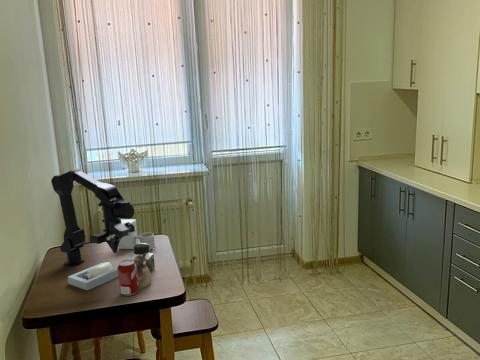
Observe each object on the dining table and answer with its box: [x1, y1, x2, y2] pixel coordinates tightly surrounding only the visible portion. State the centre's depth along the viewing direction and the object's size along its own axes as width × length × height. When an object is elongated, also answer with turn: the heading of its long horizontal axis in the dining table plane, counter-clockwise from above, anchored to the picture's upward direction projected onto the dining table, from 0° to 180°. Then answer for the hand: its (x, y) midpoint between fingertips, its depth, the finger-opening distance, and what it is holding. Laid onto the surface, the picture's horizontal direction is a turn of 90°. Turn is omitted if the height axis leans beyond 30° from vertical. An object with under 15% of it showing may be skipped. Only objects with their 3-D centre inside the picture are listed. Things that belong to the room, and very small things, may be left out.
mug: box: [134, 232, 156, 251], centre depth 224 cm, size 10×7×7 cm
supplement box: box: [118, 218, 139, 250], centre depth 227 cm, size 7×7×13 cm
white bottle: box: [83, 261, 114, 280], centre depth 193 cm, size 5×5×12 cm
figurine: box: [133, 253, 152, 289], centre depth 184 cm, size 7×7×12 cm
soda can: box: [116, 259, 140, 297], centre depth 177 cm, size 7×7×12 cm
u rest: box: [67, 261, 118, 291], centre depth 192 cm, size 12×17×3 cm
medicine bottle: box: [130, 242, 156, 275], centre depth 195 cm, size 7×7×12 cm
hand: (115, 252), depth 199 cm, fingers closed
